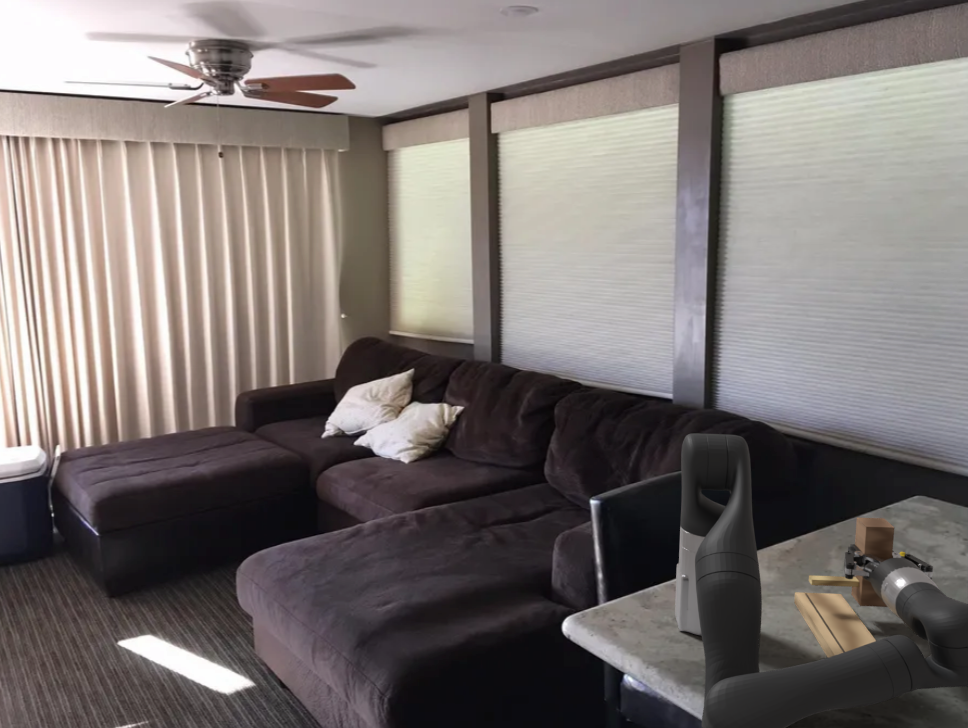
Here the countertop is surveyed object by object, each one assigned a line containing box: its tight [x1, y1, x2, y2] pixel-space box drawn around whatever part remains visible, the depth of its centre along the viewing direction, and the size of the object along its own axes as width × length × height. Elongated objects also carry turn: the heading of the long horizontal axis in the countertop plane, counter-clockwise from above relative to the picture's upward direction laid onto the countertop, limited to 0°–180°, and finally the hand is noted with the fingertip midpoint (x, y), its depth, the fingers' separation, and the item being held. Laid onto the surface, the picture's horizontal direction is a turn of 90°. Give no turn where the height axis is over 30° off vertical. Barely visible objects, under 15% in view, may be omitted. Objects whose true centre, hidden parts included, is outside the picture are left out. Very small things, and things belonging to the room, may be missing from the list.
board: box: [794, 591, 877, 658], centre depth 136 cm, size 8×26×2 cm, turn 174°
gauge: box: [808, 517, 895, 608], centre depth 141 cm, size 12×4×14 cm, turn 85°
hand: (867, 550), depth 143 cm, fingers closed on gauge, 4 cm apart
